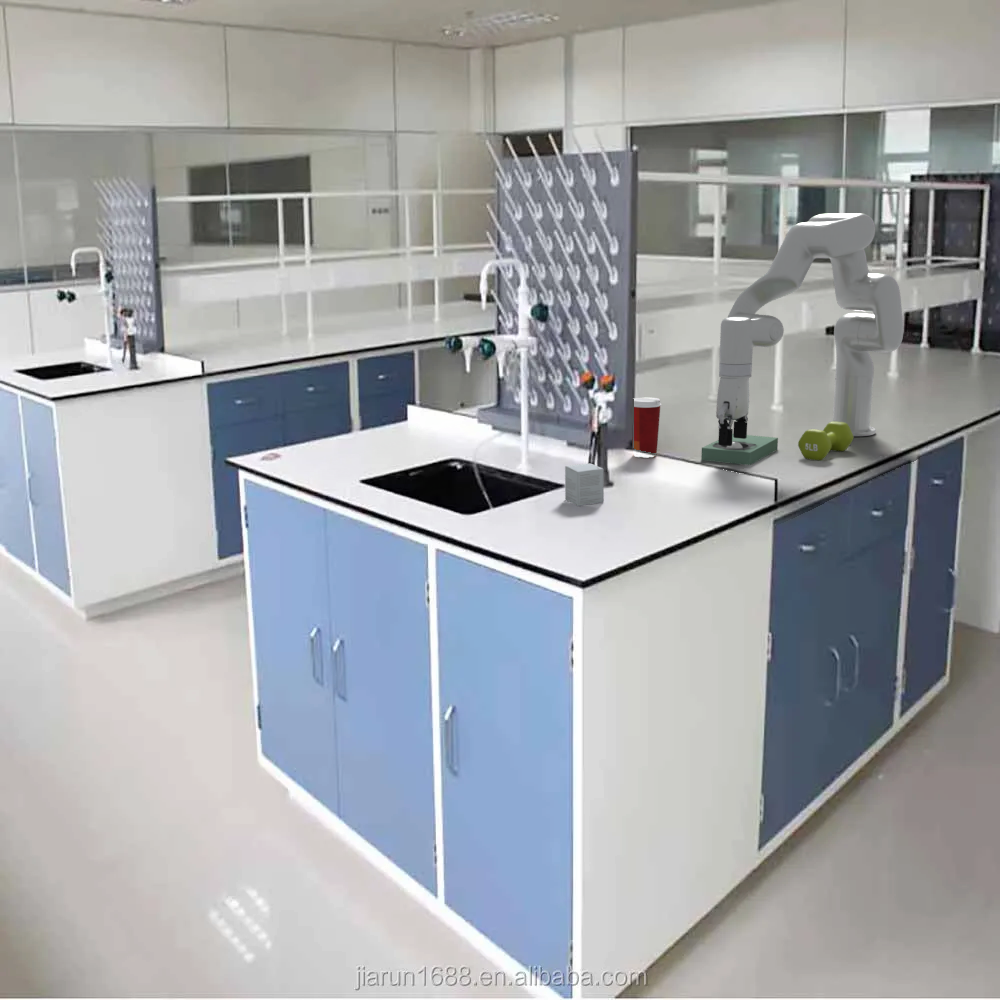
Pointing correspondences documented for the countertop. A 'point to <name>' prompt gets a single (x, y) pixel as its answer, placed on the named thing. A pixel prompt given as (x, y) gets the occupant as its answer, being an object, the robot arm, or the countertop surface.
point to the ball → (735, 445)
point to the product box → (584, 484)
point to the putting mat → (741, 450)
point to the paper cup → (646, 423)
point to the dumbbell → (825, 440)
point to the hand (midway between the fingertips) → (732, 441)
